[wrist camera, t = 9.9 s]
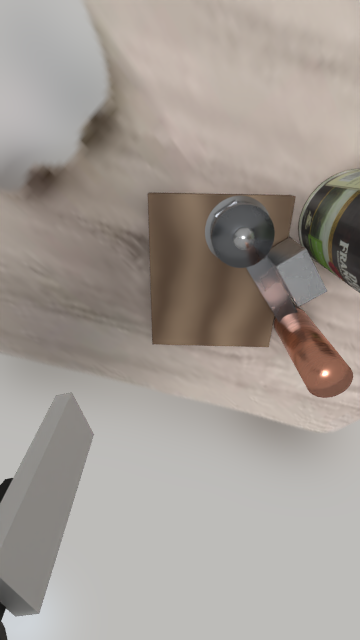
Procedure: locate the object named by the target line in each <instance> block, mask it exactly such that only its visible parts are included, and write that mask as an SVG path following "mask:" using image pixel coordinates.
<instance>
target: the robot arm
mask: <svg viewBox="0 0 360 640" xmlns="http://www.w3.org/2000/svg"><path fill="white" fill-rule="evenodd" d="M93 435H94V434H93V432H92V430H91V428H90V426H89V424H88V422H87V420H86V418H85V417H84V415H83V413H82V411H81V409H80V407H79V405H78V403H77V402H76V399H75V398H74V396H73V394H72V393H67V394H62V395H57V396H56V397H55V399H54V401H53V402H52V404H51V406H50V408H49V410H48V412H47V414H46V416H45V418H44V420H43V422H42V424H41V426H40V428H39V430H38V432H37V434H36V435H35V438H34V439H33V441H32V443H31V445H30V447H29V449H28V451H27V453H26V455H25V457H24V458H23V460H22V462H21V465H20V466H19V468H18V470H17V472H16V474H15V476H14V478H10V479H5V480H4V481H3V483H2V484H1V485H0V640H7V636H6V631H5V627H4V625H3V623H2V622H1V620H2V617H3V614H4V612H5V609H7V610H9V611H10V612H11V613H12V614H13V615H14V616H23V615H32V614H39V612H40V609H41V606H42V603H43V599H44V596H45V593H46V589H47V586H48V583H49V580H50V576H51V573H52V569H53V567H54V563H55V560H56V557H57V553H58V550H59V547H60V543H61V540H62V537H63V534H64V530H65V527H66V524H67V521H68V517H69V514H70V511H71V507H72V504H73V501H74V498H75V494H76V491H77V488H78V485H79V481H80V478H81V475H82V471H83V468H84V465H85V462H86V458H87V455H88V451H89V449H90V445H91V442H92V439H93Z"/></svg>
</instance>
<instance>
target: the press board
mask: <svg viewBox="0 0 360 640" xmlns="http://www.w3.org/2000/svg"><path fill="white" fill-rule="evenodd" d="M233 200H235V201H236V202H238V201H244V202H249V203H251V204H254V205H255V206H257V207H259V208H261V209H262V210H264V211H265V212H266V213H267V214H268V215H269V217H270V218H271V220H272V222H273V225H274V230H275V237H274V242H273V245H272V248H273V247H274V246H276V245H277V244H279V243H281V242H282V241H284V240H286V239H287V238H288V236H289V231H290V225H291V219H292V214H293V208H294V203H295V196H292V195H248V194H195V193H148V214H149V246H150V279H151V312H152V344H163V345H204V346H245V347H269V342H270V337H271V331H272V326H273V320H274V313H273V312H272V310H271V308H270V307H269V305H268V303H267V302H266V300H265V298H264V297H263V295H262V293H261V292H260V290H259V288H258V287H257V285H256V283H255V282H254V280H253V278H252V277H251V275H250V273H249V272H248V270H247V268H246V267H245V268H236V267H231V266H229V265H227V264H225V263H224V262H222V261H221V260H220V259H219V258H218V256H217V255H216V253H215V251H214V249H213V246H212V243H211V239H210V227H211V223H212V221H213V219H214V217H215V215H214V213H216V212H217V211H218V210H220V209H221V208H223V207H224V206H226V205H227V204H229V203H230V202H232V201H233Z"/></svg>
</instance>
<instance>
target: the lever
mask: <svg viewBox="0 0 360 640" xmlns="http://www.w3.org/2000/svg"><path fill="white" fill-rule="evenodd" d="M214 215H215V217H214V219H213V221H212V223H211V227H210V239H211V243H212V246H213V249H214V251H215V253H216V255H217V256H218V258H219V259H220V260H221V261H222V262H224V263H225V264H227V265H229V266H231V267H236V268H245V267H246V268H247V270H248V272H249V273H250V275H251V277H252V278H253V280H254V282H255V283H256V285H257V287H258V288H259V290H260V292H261V293H262V295H263V297H264V298H265V300H266V302H267V303H268V305H269V307H270V308H271V310H272V312H273V313H274V315H275V317H276V319H275V322H274V327H275V330H276V332H277V333H278V335H279V337H280V339H281V341H282V343H283V344H284V346H285V348H286V350H287V352H288V354H289V356H290V357H291V359H292V361H293V363H294V365H295V367H296V368H297V370H298V372H299V374H300V376H301V378H302V379H303V381H304V383H305V385H306V387H307V389H308V390H309V392H310V393H311V394H313V395H315V396H317V397H323V398H327V397H333V396H336V395H338V394H340V393H342V392H344V391H345V390H346V389H347V388H348V387H349V386H350V384H351V382H352V380H353V372H352V370H351V368H350V367H349V366H348V365H347V363H346V362H345V361H344V360H343V358H342V357H341V356H340V355H339V354H338V352H337V351H336V350H335V349H334V347H333V346H332V345H331V344H330V342H329V341H328V340H327V339H326V338H325V336H324V335H323V334H322V333H321V331H320V330H319V329H318V328H317V326H316V325H315V324H314V323H313V322H312V320H311V319H310V318H309V317H308V315H307V314H306V313H305V312H304V311H303V310H301V309H299V308H296V307H295V306H294V304H293V302H292V300H291V299H290V297H291V298H292V299H293V301H294V302H295V303H296V304H297V306H298V307H299V306H301V305H303V304H304V303H306V302H308V301H310V300H312V299H314V298H316V297H317V296H319V295H321V294H323V293H325V292H327V290H326V288H325V286H324V284H323V282H322V280H321V277H320V275H319V273H318V271H317V269H316V267H315V265H314V263H313V261H312V259H311V257H310V255H309V253H308V251H307V249H306V248H305V247H303V246H302V245H300V244H299V243H297V242H296V241H294V240H293V239H292V238H290V237H289V238H287V239H286V240H284V241H282V242H281V243H279V244H277V245H276V246H274V247H273V248H272V245H273V242H274V237H275V230H274V225H273V222H272V220H271V218H270V217H269V215H268V214H267V213H266V212H265V211H264V210H262V209H261V208H259V207H257V206H255V205H254V204H251V203H249V202H244V201H238V202H236V201H235V200H233V201H232V202H230V203H229V204H227V205H226V206H224V207H223V208H221V209H220V210H218V211H217V212H216V213H214ZM288 294H289V295H288ZM289 296H290V297H289Z"/></svg>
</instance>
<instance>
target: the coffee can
mask: <svg viewBox="0 0 360 640" xmlns="http://www.w3.org/2000/svg"><path fill="white" fill-rule="evenodd" d="M299 238H300V242H301V245H302V246H303V247H305V248H306V249H307V251H308V253H309V255H310V257H311V258H312V259H313V260H314V261H316V262H318V263H320V264H321V265H322V266H324V267H325V268H327V269H328V270H329V271H331V272H332V273H333V274H335V275H336V276H338V277H339V278H340V279H342V280H343V281H344V282H346V283H347V284H348V285H350V286H351V287H353V288H354V289H355V290H356V291H358V292H359V293H360V169H352V170H347V171H344V172H341V173H338V174H336V175H334V176H332V177H330V178H329V179H327V180H326V181H325V182H323V183H322V184H321V185H320V186H319V187H318V188H317V189H316V190H315V191H314V192H313V193H312V194H311V196H310V197H309V199H308V200H307V202H306V204H305V206H304V208H303V210H302V213H301V216H300V220H299Z"/></svg>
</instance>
